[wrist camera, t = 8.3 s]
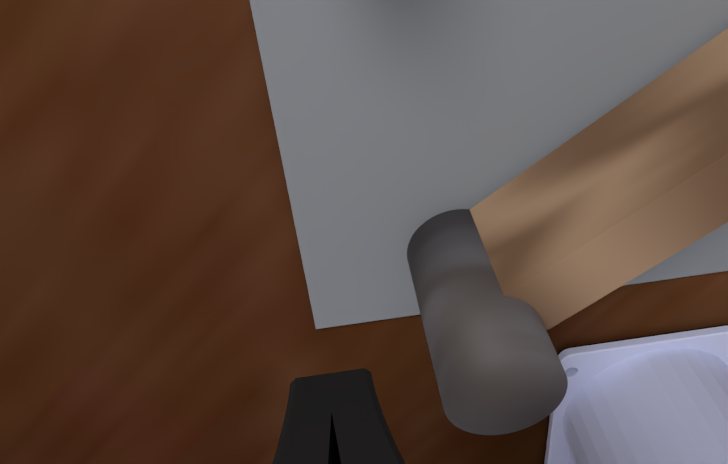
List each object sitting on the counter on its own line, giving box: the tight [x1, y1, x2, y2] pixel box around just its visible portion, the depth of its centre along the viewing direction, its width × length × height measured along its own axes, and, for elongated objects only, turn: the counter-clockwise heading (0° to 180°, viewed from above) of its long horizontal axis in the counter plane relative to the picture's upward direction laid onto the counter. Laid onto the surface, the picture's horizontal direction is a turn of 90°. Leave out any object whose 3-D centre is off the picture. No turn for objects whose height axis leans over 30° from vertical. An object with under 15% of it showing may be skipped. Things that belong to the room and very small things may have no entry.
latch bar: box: [407, 28, 728, 435], centre depth 17 cm, size 17×3×6 cm, turn 130°
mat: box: [250, 0, 728, 329], centre depth 18 cm, size 20×18×1 cm
